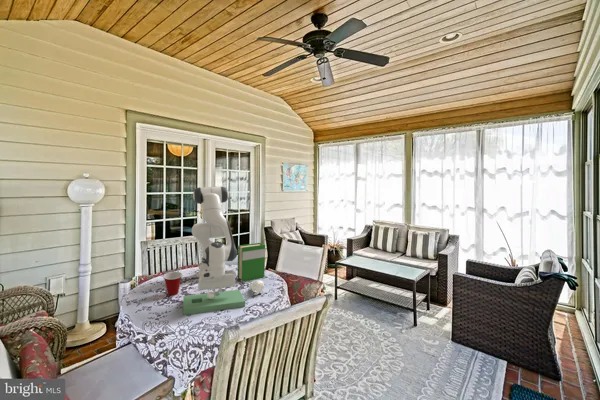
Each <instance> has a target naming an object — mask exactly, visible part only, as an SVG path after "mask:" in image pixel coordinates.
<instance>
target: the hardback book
mask: <svg viewBox="0 0 600 400" xmlns="http://www.w3.org/2000/svg"><path fill="white" fill-rule="evenodd" d="M265 255H266V244H264V243H262V242H257V243H255V242H254V243H248V244H241V245H240V244H239V245H237V280H241V282H242V283H243V282H249V281H253V280H254V281H255V280H260V279H262V278H265V267H266V266H265V261H266V256H265Z"/></svg>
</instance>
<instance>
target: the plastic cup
mask: <svg viewBox="0 0 600 400" xmlns="http://www.w3.org/2000/svg"><path fill="white" fill-rule="evenodd" d="M182 276H183V272H181V271H170V272H166V273H164V275H162V277H163V279H164V282H165V288H166V290H167V291H166V292H167V295H168V296H176V295H178V294H179V291H180V285H181V280H182Z"/></svg>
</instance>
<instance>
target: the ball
mask: <svg viewBox="0 0 600 400" xmlns="http://www.w3.org/2000/svg"><path fill="white" fill-rule="evenodd" d="M207 293H208V294H207V298H208V299H213V298H214V292H213V291H209V292H207Z"/></svg>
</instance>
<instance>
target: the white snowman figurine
mask: <svg viewBox="0 0 600 400" xmlns="http://www.w3.org/2000/svg"><path fill="white" fill-rule="evenodd" d="M248 287H249V291H250V292H251V291H252V292H253V293H254V294H253V295H254V296H257V295H258V294H263V291H264V289H265V284H264V281H262V280H260V279H256V280H254V281H253V282H251V283H250V284H249V286H248Z"/></svg>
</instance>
